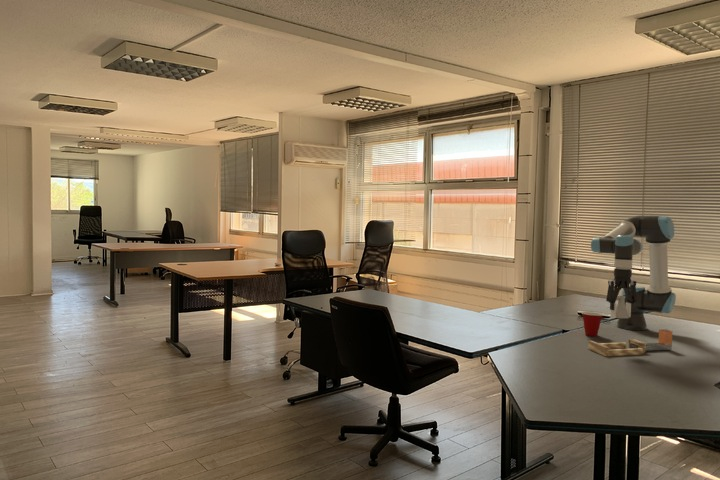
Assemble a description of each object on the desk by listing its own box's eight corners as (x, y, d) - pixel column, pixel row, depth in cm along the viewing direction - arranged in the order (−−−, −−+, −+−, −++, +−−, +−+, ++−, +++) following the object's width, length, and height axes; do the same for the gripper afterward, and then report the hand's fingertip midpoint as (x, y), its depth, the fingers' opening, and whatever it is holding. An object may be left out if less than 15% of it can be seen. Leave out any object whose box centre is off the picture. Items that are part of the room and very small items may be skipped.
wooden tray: (630, 347, 264) (630, 337, 263) (649, 354, 251) (649, 344, 251) (588, 349, 259) (588, 339, 258) (605, 356, 246) (605, 346, 246)
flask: (631, 319, 252) (632, 298, 251) (614, 318, 253) (615, 297, 253) (626, 316, 259) (627, 295, 258) (610, 315, 260) (611, 294, 260)
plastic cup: (604, 334, 289) (605, 312, 289) (600, 338, 280) (601, 315, 280) (582, 331, 295) (583, 309, 295) (578, 335, 286) (579, 312, 286)
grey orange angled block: (665, 347, 263) (666, 329, 262) (671, 349, 259) (672, 331, 258) (629, 349, 259) (630, 330, 258) (635, 351, 255) (636, 332, 254)
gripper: (635, 267, 261) (633, 315, 262) (599, 267, 256) (596, 315, 257) (647, 269, 253) (644, 318, 254) (609, 269, 249) (607, 318, 250)
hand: (620, 316), depth 256 cm, fingers closed on flask, 7 cm apart
